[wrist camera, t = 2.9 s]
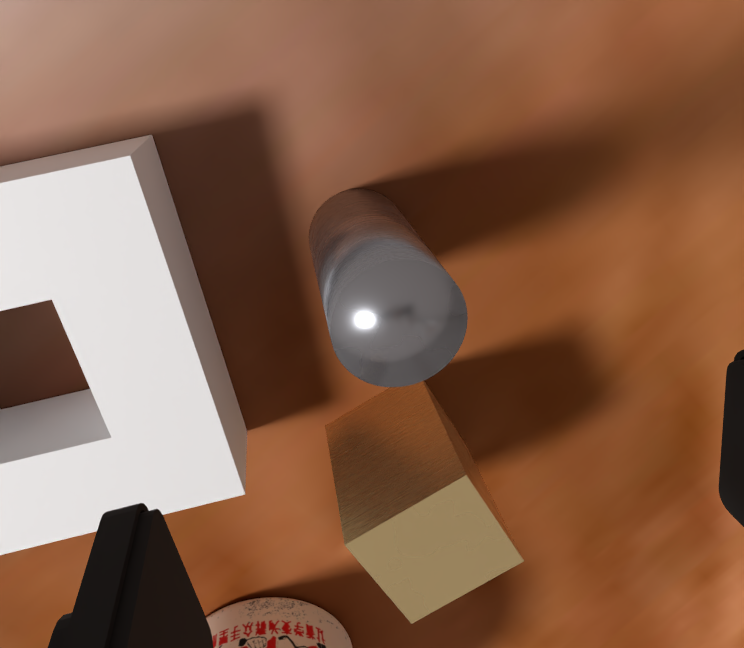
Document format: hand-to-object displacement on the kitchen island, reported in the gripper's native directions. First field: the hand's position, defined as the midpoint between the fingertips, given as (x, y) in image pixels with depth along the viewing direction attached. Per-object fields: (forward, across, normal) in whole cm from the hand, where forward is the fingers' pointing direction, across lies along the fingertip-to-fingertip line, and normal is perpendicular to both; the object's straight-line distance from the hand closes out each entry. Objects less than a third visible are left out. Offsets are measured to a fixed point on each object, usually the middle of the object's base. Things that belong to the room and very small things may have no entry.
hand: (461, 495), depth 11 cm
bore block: (+15, +12, +1) cm, 19 cm away
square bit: (+15, 0, +9) cm, 18 cm away
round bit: (+15, 0, 0) cm, 15 cm away
